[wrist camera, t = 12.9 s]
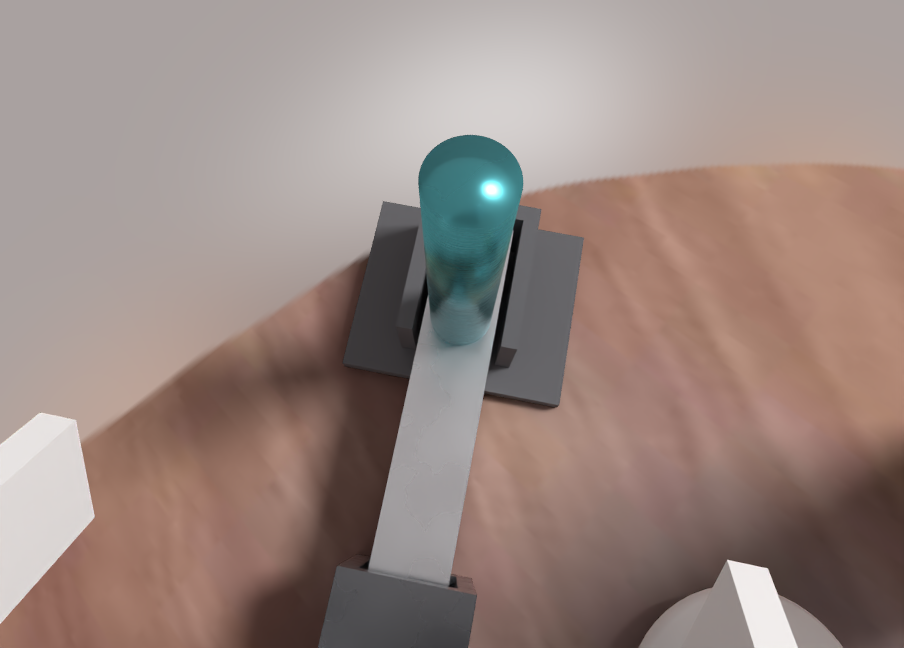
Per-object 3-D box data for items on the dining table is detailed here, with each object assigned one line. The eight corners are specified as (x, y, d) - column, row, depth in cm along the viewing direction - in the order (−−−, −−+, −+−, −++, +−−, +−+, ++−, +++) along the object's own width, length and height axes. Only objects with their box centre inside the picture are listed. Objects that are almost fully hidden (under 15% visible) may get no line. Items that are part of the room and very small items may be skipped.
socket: (580, 243, 37) (601, 204, 32) (556, 407, 34) (574, 391, 29) (384, 207, 37) (375, 163, 32) (344, 366, 34) (328, 343, 30)
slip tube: (507, 258, 35) (558, 48, 19) (437, 637, 29) (425, 801, 13) (445, 246, 35) (443, 29, 19) (364, 622, 30) (265, 764, 13)
